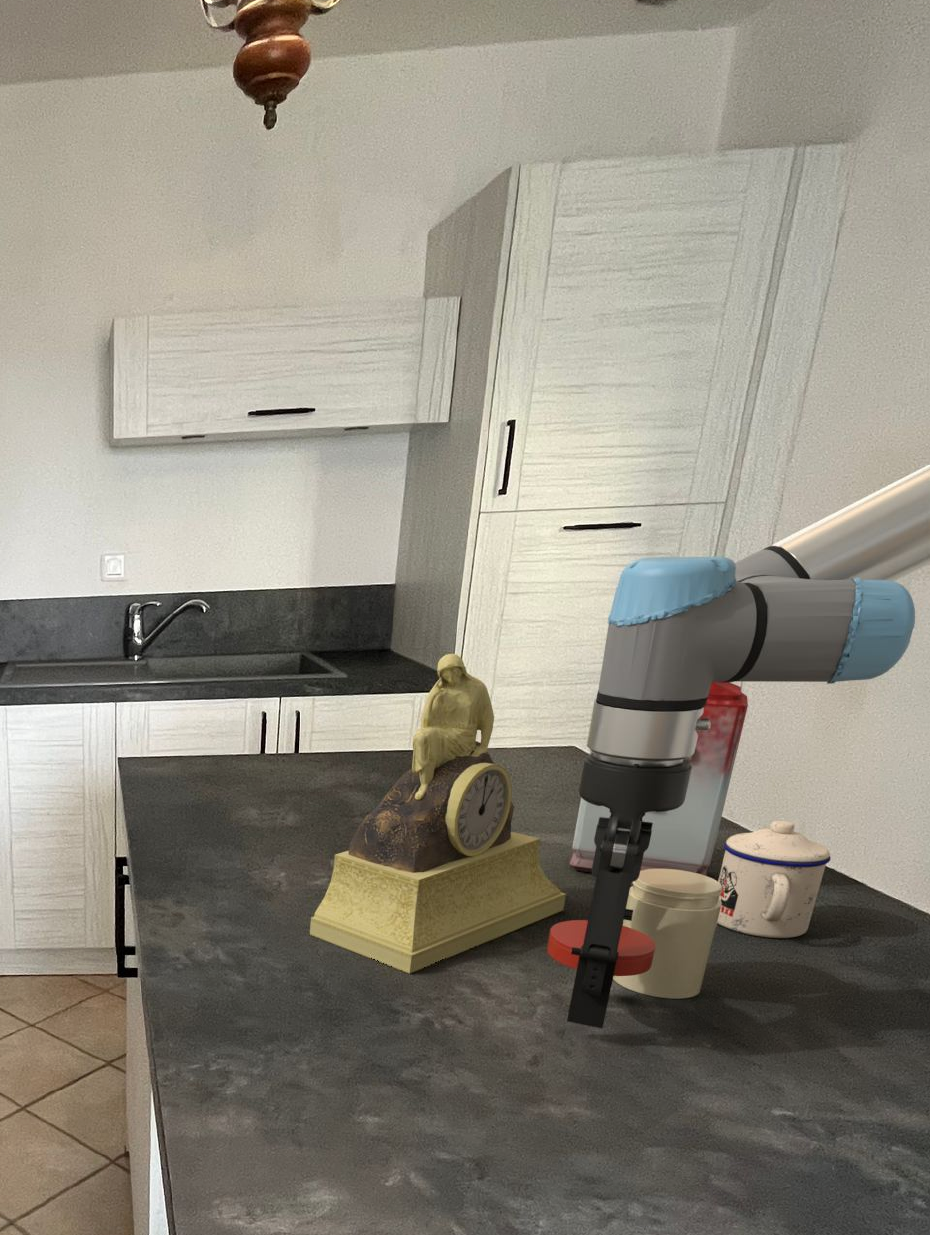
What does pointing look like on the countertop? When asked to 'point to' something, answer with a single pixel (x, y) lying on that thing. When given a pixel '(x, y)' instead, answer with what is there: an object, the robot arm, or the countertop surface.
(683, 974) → the jar
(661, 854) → the bottle
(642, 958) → the lid
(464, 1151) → the countertop surface
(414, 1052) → the countertop surface
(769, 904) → the teacup with lid
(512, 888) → the decorative clock
